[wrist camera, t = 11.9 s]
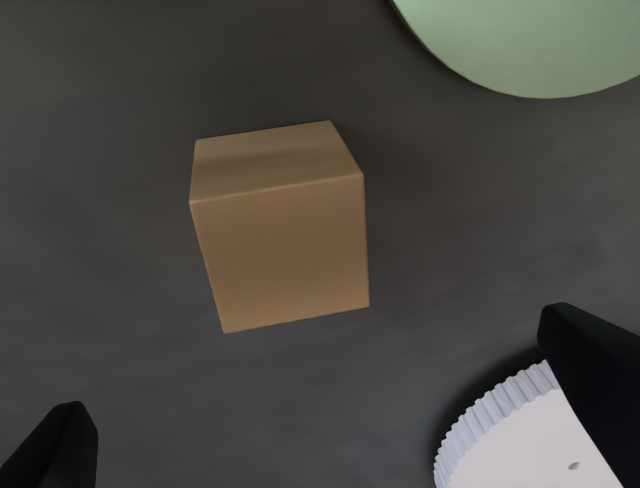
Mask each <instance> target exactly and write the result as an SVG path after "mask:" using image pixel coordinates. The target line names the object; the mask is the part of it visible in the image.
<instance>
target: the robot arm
mask: <svg viewBox="0 0 640 488" xmlns="http://www.w3.org/2000/svg"><path fill="white" fill-rule="evenodd" d="M537 341H538V345H539V347H540V349H541V351H542V353H543V355H544V357H545V359H546V361H547V363H548V365H549V367H550V368H551V370H552V372H553V374H554V376H555V378H556V380H557V382H558V384H559V386H560V388H561V390H562V391H563V393H564V395H565V397H566V399H567V401H568V403H569V405H570V406H571V408H572V410H573V412H574V414H575V415H576V417H577V418H578V420H579V422H580V423H581V425H582V426H583V428H584V429H585V431H586V432H587V434H588V435H589V437H590V438H591V440H592V441H593V443H594V444H595V446H596V447H597V449H598V450H599V452H600V453H601V455H602V456H603V458H604V459H605V461H606V462H607V464H608V465H609V467H610V468H611V470H612V472H613V473H614V475H615V476H616V478H617V479H618V481H619V482H620V484H621V485H622V487H623V488H640V336H637V335H635V334H633V333H631V332H629V331H627V330H625V329H622V328H620V327H618V326H616V325H614V324H612V323H609V322H607V321H605V320H603V319H601V318H599V317H597V316H594V315H592V314H590V313H588V312H586V311H584V310H581V309H579V308H577V307H575V306H573V305H571V304H568V303H565V302H560V303H555V304H550V305H546V306H545V307H544V308H543V309H542V313H541V318H540V323H539V328H538V333H537ZM97 453H98V432H97V429H96V426H95V425H94V423H93V421H92V419H91V417H90V415H89V413H88V412H87V410H86V408H85V406H84V405H83V403H82V402H80V401H73V402H68V403H63V404H59V405H56V406H55V407H54V408H53V409H52V410H51V411H50V412H49V413H48V414H47V415H46V416H45V418H44V419H43V420H42V421H41V422H40V423H39V424H38V426H37V427H36V428H35V429H34V430H33V431H32V432H31V434H30V435H29V436H28V437H27V438H26V439H25V440H24V441H23V443H22V444H21V445H20V446H19V447H18V448H17V449H16V451H15V452H14V453H13V454H12V455H11V456H10V457H9V459H8V460H7V461H6V462H5V463H4V464H3V465H2V466H1V468H0V488H95V483H96V468H97Z"/></svg>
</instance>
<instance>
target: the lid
mask: <svg viewBox="0 0 640 488" xmlns="http://www.w3.org/2000/svg"><path fill="white" fill-rule="evenodd" d="M388 1H389V2H390V4H391V5H392V7H393V8H394V10H395V12H396V13H397V15H398V16H399V18H400V19H401V21H402V22H403V24H404V26H405V27H406V28H407V29H408V30H409V32H410V33H411V34H412V35H413V36H414V37H415V38H416V40H417V41H418V42H419V43H420V44H421V45H422V47H423V48H424V49H425V50H427V51H428V52H429V53H430V54H431V55H432V56H434V57H435V58H436V59H437V60H438V61H439V62H441V63H442V64H443V65H444V66H446V67H447V68H449V69H451V70H452V71H454V72H455V73H457V74H459V75H460V76H462V77H464V78H465V79H467V80H469V81H471V82H472V83H475V84H477V85H480V86H482V87H485V88H487V89H490V90H492V91H495V92H498V93H503V94H507V95H511V96H516V97H520V98H535V99H554V98H567V97H574V96H579V95H584V94H588V93H593V92H597V91H601V90H604V89H606V88H609V87H612V86H615V85H618V84H621V83H624V82H626V81H628V80H630V79H632V78H634V77H636V76H639V75H640V0H388Z"/></svg>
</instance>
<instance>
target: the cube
mask: <svg viewBox="0 0 640 488" xmlns="http://www.w3.org/2000/svg"><path fill="white" fill-rule="evenodd" d="M189 206H190V210H191V214H192V218H193V221H194V225H195V229H196V233H197V236H198V240H199V244H200V248H201V251H202V255H203V259H204V262H205V266H206V270H207V274H208V277H209V281H210V285H211V289H212V292H213V296H214V300H215V303H216V307H217V311H218V315H219V318H220V322H221V326H222V330H223V332H224V333H225V334H227V333H233V332H238V331H243V330H249V329H254V328H259V327H265V326H270V325H275V324H281V323H286V322H291V321H297V320H302V319H307V318H313V317H318V316H323V315H329V314H334V313H339V312H345V311H350V310H355V309H361V308H366V307H369V305H370V296H369V274H368V252H367V230H366V208H365V187H364V174H363V172H362V171H361V169H360V168H359V166H358V164H357V163H356V161H355V159H354V158H353V156H352V155H351V153H350V151H349V150H348V148H347V146H346V145H345V143H344V141H343V140H342V138H341V137H340V135H339V133H338V132H337V130H336V128H335V127H334V125H333V124H332V122H331V121H330V120H326V121H320V122H313V123H306V124H299V125H293V126H286V127H279V128H272V129H266V130H259V131H252V132H245V133H239V134H232V135H225V136H218V137H212V138H205V139H198V140H196V142H195V151H194V160H193V169H192V178H191V187H190V196H189Z"/></svg>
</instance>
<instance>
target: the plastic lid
mask: <svg viewBox="0 0 640 488" xmlns="http://www.w3.org/2000/svg"><path fill="white" fill-rule="evenodd" d="M484 395H485V396H484V397H483V398H482V399H477V400H476V401H475V405H474V406H472V407H468V408H467V409H466V413H465V414H464V415H460V417H459V418H458V420H459V421H458V422H457V423H454V424H453V425H452V426H451V427H452V430H451V431H449V432H447V433H446V437H447V438H446V439H445V440H442V442H441V444H442V447H440V448H438V453H439V455H437V456H436V457H435V460H436V463H434V468H435V470H433V473H434V475H435V477H434V480H435V484H436V487H437V488H623V487H622V485H621V484H620V482H619V481H618V479H617V478H616V476H615V475H614V473H613V472H612V470H611V468H610V467H609V465H608V464H607V462H606V461H605V459H604V458H603V456H602V455H601V453H600V452H599V450H598V449H597V447H596V446H595V444H594V443H593V441H592V440H591V438H590V437H589V435H588V434H587V432H586V431H585V429H584V428H583V426H582V425H581V423H580V422H579V420H578V418H577V417H576V415H575V414H574V412H573V410H572V408H571V406H570V405H569V403H568V401H567V399H566V397H565V395H564V393H563V391H562V390H561V388H560V386H559V384H558V382H557V380H556V378H555V376H554V374H553V372H552V370H551V368H550V367H549V365H548V363H547V361H546V359H545V360H543V361H542V363H540V364H538V365H536V364H533V365H531V366H530V368H529V369H527V370H525V371H524V370H521V371H519V372H518V374H517V375H516V376H514V377H512V376H510V377H508V378H507V379H506V381H505V382H504V383H502V384H500V383H499V384H497V385H496V386H495V389H493V390H492V391H487V392H486V393H485V394H484Z"/></svg>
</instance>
